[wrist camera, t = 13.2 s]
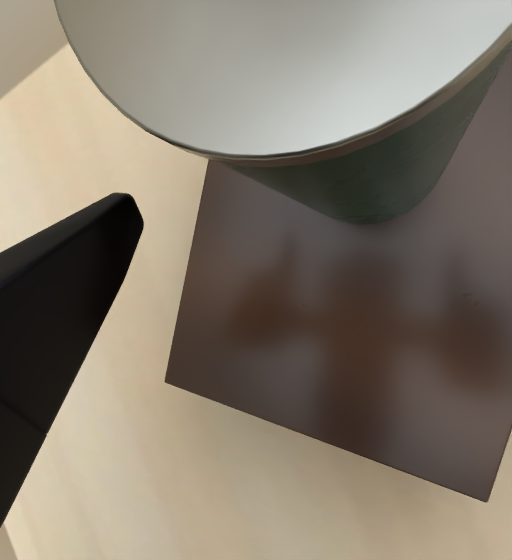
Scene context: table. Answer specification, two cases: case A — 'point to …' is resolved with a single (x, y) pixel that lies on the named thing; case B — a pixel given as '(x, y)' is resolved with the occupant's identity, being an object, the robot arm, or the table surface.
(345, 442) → the shelf
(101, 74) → the tea tin
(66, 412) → the table surface
